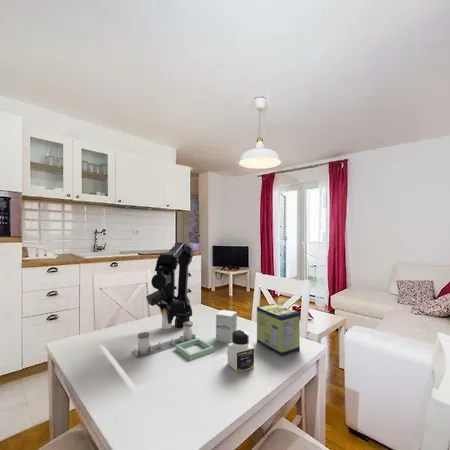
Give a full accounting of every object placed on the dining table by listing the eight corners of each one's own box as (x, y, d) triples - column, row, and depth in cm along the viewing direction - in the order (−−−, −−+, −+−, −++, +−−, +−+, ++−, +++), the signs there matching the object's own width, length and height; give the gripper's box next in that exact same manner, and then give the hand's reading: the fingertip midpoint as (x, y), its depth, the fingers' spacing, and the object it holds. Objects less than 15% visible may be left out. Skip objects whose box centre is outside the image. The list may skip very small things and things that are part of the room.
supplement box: (215, 343, 111) (215, 314, 112) (221, 337, 118) (222, 309, 119) (231, 346, 109) (231, 316, 109) (237, 339, 115) (237, 311, 116)
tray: (198, 345, 110) (198, 337, 110) (214, 354, 101) (214, 346, 101) (175, 352, 103) (175, 344, 103) (190, 363, 94) (190, 355, 94)
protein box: (273, 337, 118) (273, 303, 119) (300, 350, 105) (300, 312, 106) (256, 342, 113) (256, 306, 113) (281, 357, 100) (281, 316, 100)
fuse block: (190, 337, 118) (190, 319, 118) (199, 342, 112) (199, 323, 112) (130, 354, 101) (131, 333, 101) (137, 362, 95) (137, 339, 95)
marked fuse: (169, 324, 109) (169, 307, 110) (174, 327, 106) (174, 310, 106) (160, 326, 107) (160, 309, 107) (164, 329, 104) (164, 312, 104)
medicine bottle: (236, 372, 88) (237, 337, 89) (227, 363, 95) (227, 330, 95) (254, 367, 92) (254, 333, 92) (243, 359, 98) (243, 327, 98)
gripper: (140, 282, 109) (139, 320, 109) (159, 290, 95) (158, 333, 94) (164, 280, 116) (163, 315, 116) (185, 286, 102) (185, 327, 101)
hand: (167, 322), depth 107 cm, fingers closed on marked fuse, 4 cm apart
